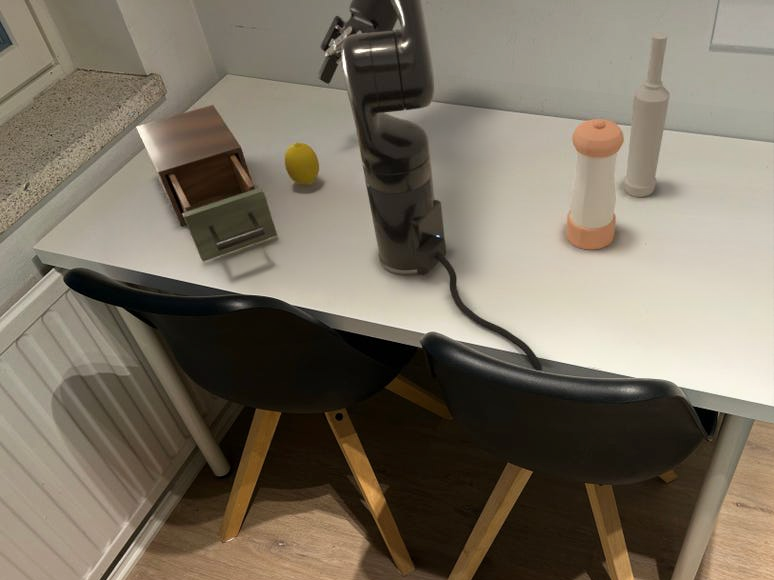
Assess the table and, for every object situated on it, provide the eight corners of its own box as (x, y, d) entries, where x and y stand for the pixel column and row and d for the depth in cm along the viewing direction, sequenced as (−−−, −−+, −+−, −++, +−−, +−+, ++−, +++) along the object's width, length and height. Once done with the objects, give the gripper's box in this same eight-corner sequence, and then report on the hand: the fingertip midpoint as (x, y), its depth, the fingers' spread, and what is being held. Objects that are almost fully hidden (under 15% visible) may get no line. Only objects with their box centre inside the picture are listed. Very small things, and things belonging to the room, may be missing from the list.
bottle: (652, 200, 116) (675, 45, 98) (620, 195, 117) (637, 41, 99) (657, 182, 119) (681, 29, 101) (626, 178, 121) (644, 26, 102)
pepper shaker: (600, 216, 114) (610, 102, 100) (622, 242, 109) (636, 126, 95) (558, 228, 112) (563, 114, 98) (579, 254, 107) (587, 139, 93)
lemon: (316, 195, 121) (306, 153, 116) (286, 192, 122) (274, 150, 116) (327, 177, 125) (318, 135, 119) (298, 174, 126) (287, 133, 120)
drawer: (289, 255, 109) (275, 209, 103) (213, 283, 105) (193, 237, 99) (248, 188, 122) (233, 145, 116) (178, 211, 118) (159, 167, 112)
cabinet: (258, 200, 121) (240, 146, 114) (181, 226, 117) (157, 172, 110) (230, 156, 131) (213, 104, 124) (158, 178, 127) (136, 126, 120)
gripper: (339, -28, 116) (296, 66, 119) (395, -7, 108) (348, 93, 112) (369, -4, 122) (328, 85, 125) (425, 18, 115) (380, 112, 118)
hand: (338, 89), depth 118 cm, fingers open, 8 cm apart
